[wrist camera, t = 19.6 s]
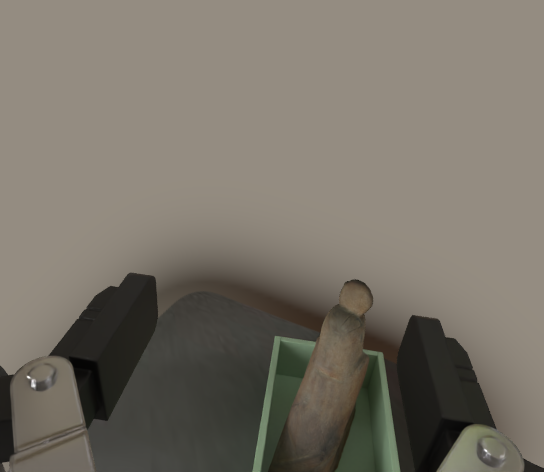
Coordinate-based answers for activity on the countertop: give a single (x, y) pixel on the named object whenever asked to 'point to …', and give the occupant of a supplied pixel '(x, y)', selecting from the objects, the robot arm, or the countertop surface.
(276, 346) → the bin
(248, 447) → the countertop surface
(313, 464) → the worn brown figurine
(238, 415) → the countertop surface
